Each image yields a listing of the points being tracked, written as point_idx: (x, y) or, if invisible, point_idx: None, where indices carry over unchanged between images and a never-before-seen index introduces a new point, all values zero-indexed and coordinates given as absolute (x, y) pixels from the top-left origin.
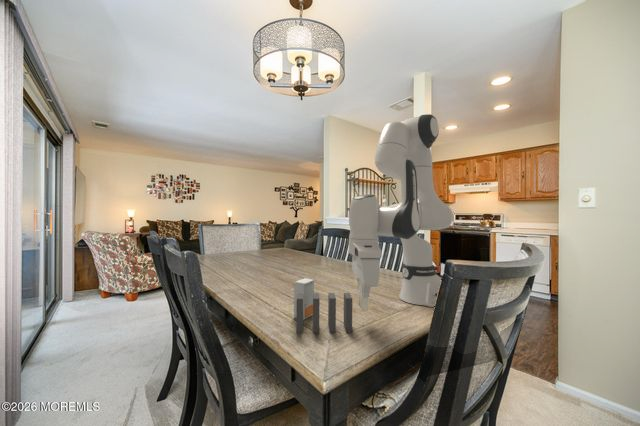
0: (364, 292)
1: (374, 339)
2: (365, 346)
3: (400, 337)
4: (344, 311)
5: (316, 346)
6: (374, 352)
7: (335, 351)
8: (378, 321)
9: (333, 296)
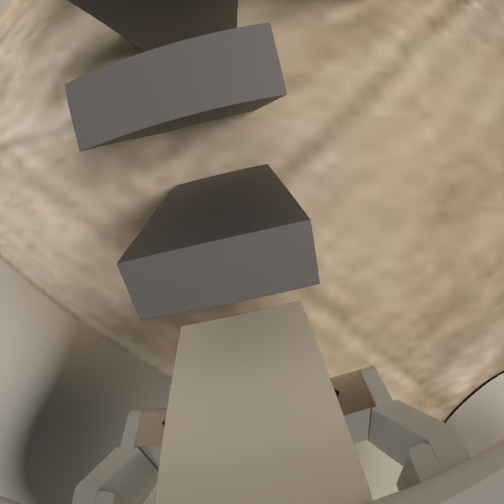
0: (125, 448)
1: None
2: (84, 276)
3: None
4: (238, 189)
5: (33, 85)
6: (62, 304)
7: (19, 169)
8: (331, 327)
9: (137, 106)
